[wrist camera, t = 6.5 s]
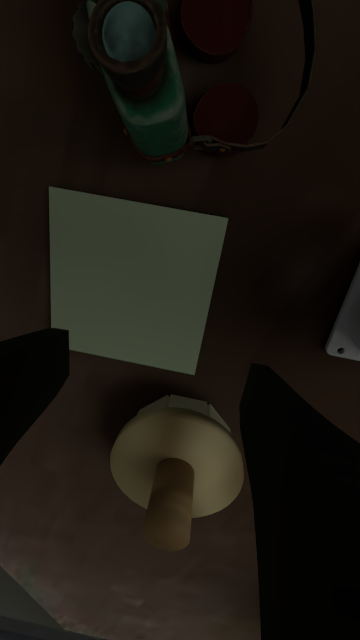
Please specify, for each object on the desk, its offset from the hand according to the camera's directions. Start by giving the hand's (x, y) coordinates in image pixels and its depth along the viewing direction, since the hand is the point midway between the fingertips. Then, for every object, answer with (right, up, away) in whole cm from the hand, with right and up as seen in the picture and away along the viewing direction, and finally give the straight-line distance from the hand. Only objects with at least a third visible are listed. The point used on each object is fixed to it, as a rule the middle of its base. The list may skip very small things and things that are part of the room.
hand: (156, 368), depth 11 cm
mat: (-3, +4, +10) cm, 11 cm away
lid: (+1, -9, +12) cm, 15 cm away
